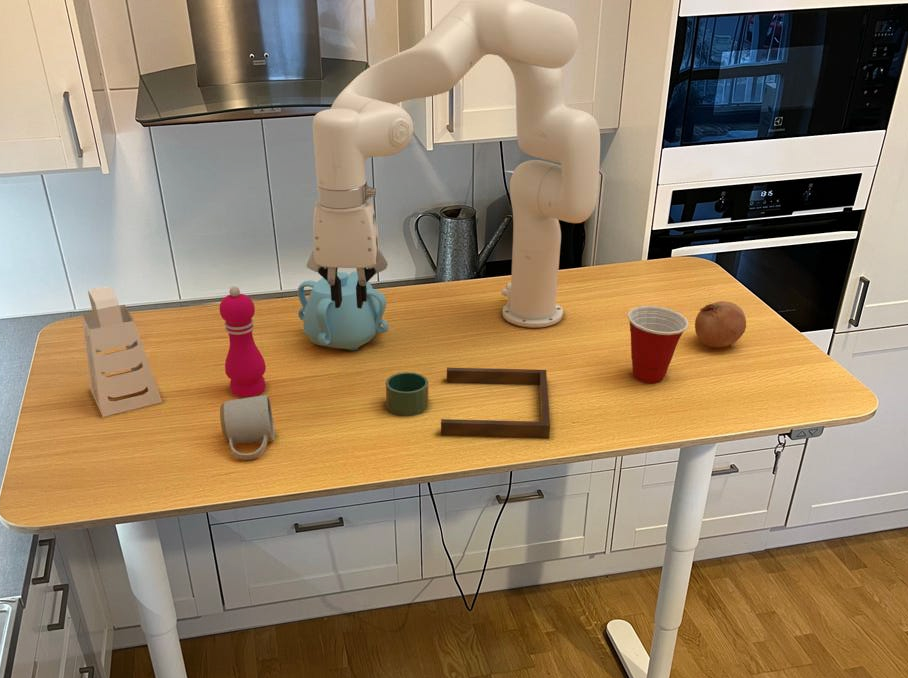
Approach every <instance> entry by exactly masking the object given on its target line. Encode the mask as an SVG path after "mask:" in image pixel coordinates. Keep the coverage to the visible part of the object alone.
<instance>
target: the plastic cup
mask: <svg viewBox="0 0 908 678" xmlns="http://www.w3.org/2000/svg"><path fill="white" fill-rule="evenodd" d="M627 318H628V321H629V332H630V352H631V353H630V354H631V365H632V367H631V369H632V375H633V377H634V378H635V380H636V381H639V382H641V383H645V384H657V383H661V382H662V381H664V379H665V377H666V375H667V373H668V369H669V366H670V364H671V362H672V359H673V356H674V354H675V351H676V348H677V345H678V342H679V341H680V339H681V337H682V335H683V333H684V332H686V330H687V329H688V326H689V322H688V319H687V317H685V316H684V315H683V314H681V313H680V312H677V311H675V310H673V309H670V308H666V307H662V306H657V305H656V306H654V305H641V306H636V307H634V308H631V309H630V310H629V312H628V313H627Z"/></svg>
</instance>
